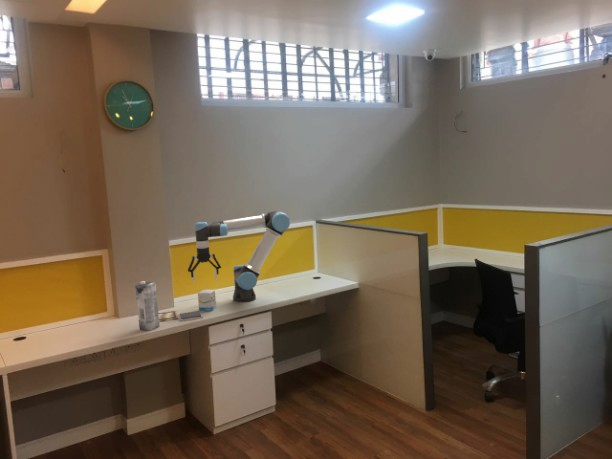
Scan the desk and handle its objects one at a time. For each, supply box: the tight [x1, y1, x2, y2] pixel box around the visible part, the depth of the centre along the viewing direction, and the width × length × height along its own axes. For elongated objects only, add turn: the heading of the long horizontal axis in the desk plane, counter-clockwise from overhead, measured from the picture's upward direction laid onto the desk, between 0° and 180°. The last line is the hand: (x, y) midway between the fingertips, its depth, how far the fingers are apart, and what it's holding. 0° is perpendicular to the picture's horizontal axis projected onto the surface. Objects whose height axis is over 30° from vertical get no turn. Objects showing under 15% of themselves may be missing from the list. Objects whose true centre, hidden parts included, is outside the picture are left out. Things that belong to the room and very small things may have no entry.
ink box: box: [197, 289, 217, 312], centre depth 333 cm, size 9×8×12 cm
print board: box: [158, 310, 180, 323], centre depth 321 cm, size 16×15×1 cm
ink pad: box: [177, 310, 203, 322], centre depth 320 cm, size 13×12×1 cm
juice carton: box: [134, 280, 160, 332], centre depth 300 cm, size 9×10×27 cm
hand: (205, 281), depth 332 cm, fingers open, 13 cm apart
